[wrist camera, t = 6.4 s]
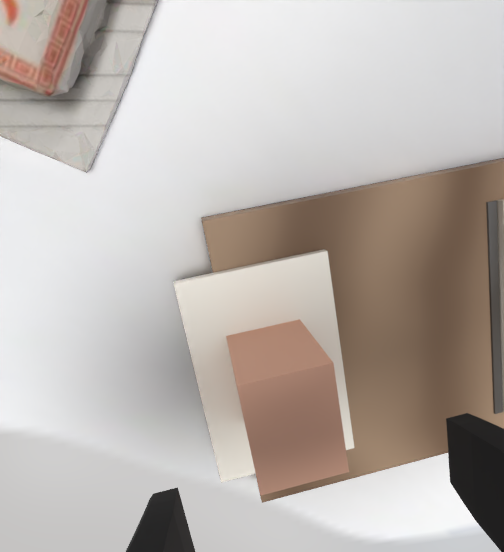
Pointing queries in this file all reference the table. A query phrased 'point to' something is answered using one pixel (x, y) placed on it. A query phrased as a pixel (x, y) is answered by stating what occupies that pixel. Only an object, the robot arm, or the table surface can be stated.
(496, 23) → the table surface
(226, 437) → the stub
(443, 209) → the board
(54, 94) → the packaged product
